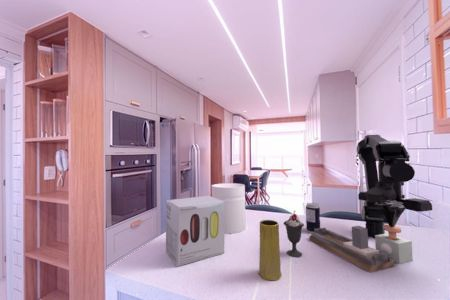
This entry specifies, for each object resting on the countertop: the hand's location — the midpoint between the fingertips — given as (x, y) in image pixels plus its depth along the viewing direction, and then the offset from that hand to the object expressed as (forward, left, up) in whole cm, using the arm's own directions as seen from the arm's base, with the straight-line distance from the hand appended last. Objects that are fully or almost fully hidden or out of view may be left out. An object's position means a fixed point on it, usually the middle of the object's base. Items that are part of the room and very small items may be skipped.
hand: (391, 226), depth 65 cm
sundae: (+29, -12, -10) cm, 33 cm away
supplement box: (+61, -24, -10) cm, 66 cm away
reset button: (0, 0, -4) cm, 4 cm away
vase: (+43, -4, -10) cm, 44 cm away
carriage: (+11, -2, -8) cm, 14 cm away
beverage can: (+8, -27, -10) cm, 30 cm away
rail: (+11, -8, -10) cm, 17 cm away
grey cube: (0, 0, -10) cm, 10 cm away
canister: (+42, -44, -10) cm, 62 cm away
